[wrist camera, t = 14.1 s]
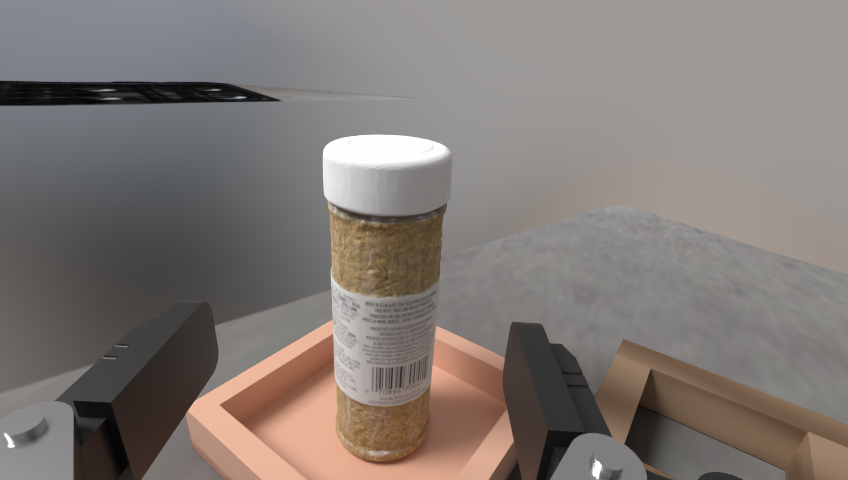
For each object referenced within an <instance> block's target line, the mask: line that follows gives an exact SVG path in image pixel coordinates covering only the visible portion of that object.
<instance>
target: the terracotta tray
mask: <svg viewBox="0 0 848 480" xmlns="http://www.w3.org/2000/svg"><path fill="white" fill-rule="evenodd" d="M504 361H505V358H504V357H502V356H500V355H498V354H496V353H494V352H491V351H489V350H487V349H485V348H483V347H481V346H479V345H476V344H474V343H472V342H470V341H468V340H466V339H464V338H462V337H459V336H457V335H455V334H453V333H451V332H449V331H447V330H444V329H442V328H440V327H438V326H436V331H435V344H434V356H433V366H432V377H431V387H430V398H429V413H430V427H429V431H428V433H427V436H426V438H425V439H424V441H423V443H422V444H421V445H420V446H419V447H418V448H417V449H416V450H415V451H413V452H412V453H410V454H408V455H406V456H404V457H402V458H399V459H395V460H393V461H386V462H375V461H370V460H367V459H362V458H360V457H358V456H357V455H354V454H352V453H351V452H349V451H348V450H347V449H346V448H344V447H343V445H342V443H341V442H340V440H339V438H338V436H337V432H336V427H335V425H336V414H337V409H338V405H337V391H336V388H337V383H336V379H335V372H334V340H333V320H331V321H329V322H328V323H326V324H324V325H323V326H321V327H319V328H318V329H316V330H314V331H312V332H311V333H309V334H307V335H306V336H304V337H302V338H301V339H299V340H297V341H296V342H294V343H292V344H290V345H289V346H287V347H285V348H284V349H282V350H280V351H279V352H277V353H275V354H274V355H272V356H270V357H269V358H267V359H265V360H263V361H262V362H260V363H258V364H257V365H255V366H253V367H252V368H250V369H248V370H247V371H245V372H243V373H241V374H240V375H238V376H236V377H235V378H233V379H231V380H230V381H228V382H226V383H225V384H223V385H221V386H220V387H218V388H216V389H214V390H213V391H211V392H209V393H208V394H206V395H204V396H203V397H201V398H199V399H198V400H196V401H194V402H193V404H192V405H191V407H190V408H189V410H188V411H187V413H186V418H187V423H188V427H189V431H190V436H191V440H192V445H193V449H194V450H195V451H196V452H197V453H198V454H199V455H200V456H201V457H202V458H203V459H204V460H205V461H206V462H207V463H208V464H209V465H210V466H211V467H212V468H213V469H214V470H215V471H216V472H217V473H218V474H219V475H220V476H221V477H222V478H223V479H224V480H507V479H508V477H509V476H510V474H511V472H512V471H513V469H514V467H515V466H516V464H517V462H518V458H517V454H516V449H515V444H514V439H513V435H512V430H511V425H510V420H509V415H508V411H507V406H506V401H505V396H504V391H503V367H504Z"/></svg>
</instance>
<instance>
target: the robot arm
mask: <svg viewBox="0 0 848 480" xmlns="http://www.w3.org/2000/svg"><path fill="white" fill-rule="evenodd" d="M217 361H218V345H217V339H216V333H215V327H214V321H213V315H212V309H211V306H210V305H209V304H208V303H206V302H193V301H175V302H174V303H172V304H171V305H170V306H169V307H168V308H167V309H166V310H165V311H164V312H163V313H162V314H161V315H160V316H159V317H158V318H157V319H155V318H153V319H150V320H149V321H147V322H145V323H143V324H141V325H139V326H138V327H136V328H134V329H132V330H131V331H130V332H129V333H128V334H126V335H125V336H124V337H123V338H122V339H121V340H120V341H119V342H118V343H117V345H116V347H112V348H111V349H110V350H109V351H108V352H107V353H106V354H105V355H104V358H103V359H100V360H98V361H97V362H96V363H95V364H94V365H93V366H92V367H91V368H90V369H89V370H88V371H87V372H85V373H84V374H83V375H82V376H81V377H80V378H79V379H78V380H77V381H76V382H75V383H74V384H73V385H71V386H70V387H69V388H68V389H67V390H66V391H65V392H64V393H63V394H62V395H61V396H60V397H59V398H57V399H56V400H55V401H49V402H42V403H37V404H33V405H29V406H26V407H24V408H21V409H19V410H16V411H14V412H12V413H10V414H8V415H6V416H4V417H3V418H1V419H0V480H141V479H142V478H143V476H144V475H145V473H146V472H147V470H148V469H149V467H150V466H151V464H152V463H153V461H154V460H155V458H156V457H157V456H158V454H159V453H160V451H161V450H162V448H163V447H164V445H165V444H166V442H167V441H168V439H169V438H170V436H171V435H172V433H173V432H174V430H175V429H176V428H177V426H178V425H179V423H180V422H181V420H182V419H183V417H184V416H185V414H186V413H187V411H188V410H189V408H190V407H191V405H192V404H193V402H194V401H195V400H196V398H197V397H198V395H199V394H200V392H201V391H202V389H203V388H204V386H205V385H206V383H207V382H208V380H209V379H210V377H211V376H212V374H213V373H214V371H215V368H216V365H217ZM582 374H583V373H582V371H581V368H580V366H579V364H578V362H577V360H576V358H575V357H574V356H573V355H572V354H571V353H570V352H569V351H568V350H567V349H566V348H565V347H564V346H563V345H562V344H551V343H549V340H548V338H547V335H546V333H545V330H544V328H543V326H542V324H538V323H522V322H513V323H512V324H511V327H510V332H509V338H508V344H507V350H506V355H505V361H504V367H503V391H504V396H505V401H506V406H507V411H508V415H509V420H510V425H511V430H512V435H513V439H514V444H515V449H516V454H517V458H518V463H519V468H520V473H521V477H522V480H672V479H669V478H666V477H663V476H660V475H658V474H655V473H652V472H650V471H648V470H646V469H645V468H644V466H643V464H642V462H641V460H640V459H639V458H638V456H637V455H636V454H635V453H634V452H633V451H632V450H631V449H630V448H629V447H627V446H626V445H625V444H623V443H622V442H620V441H618V440H616V439H614V438H613V437H612V435H611V433H610V430H609V428H608V426H607V424H606V422H605V420H604V418H603V416H602V413H601V411H600V409H599V407H598V405H597V403H596V401H595V398H594V396H593V394H592V392H591V390H590V389H589V388H588V383H587V381H586V379H585V377H584V376H583V375H582ZM698 480H742V479H740V478H738V477H735V476H733V475H729V474H726V473H720V472H711V473H706V474H704V475H702V476H701V477H700V478H699V479H698Z"/></svg>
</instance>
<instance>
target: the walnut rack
mask: <svg viewBox="0 0 848 480" xmlns="http://www.w3.org/2000/svg"><path fill="white" fill-rule="evenodd" d="M595 401H596V403H597V405H598V407H599V409H600V411H601V413H602V416H603V418H604V420H605V422H606V424H607V426H608V428H609V430H610V433H611V435H612V437H613V438H614V439H616V440H618V441H620V442H622V443H623V444H625V441H626V438H627V435H628V432H629V429H630V426H631V424H632V421H633V418H634V415H635V412H636V409H637V406H638V404H639V405H641V406H644V407H646V408H648V409H650V410H653V411H655V412H657V413H659V414H661V415H664V416H666V417H668V418H670V419H673V420H675V421H677V422H679V423H682V424H684V425H686V426H688V427H690V428H693V429H695V430H697V431H699V432H702V433H704V434H706V435H708V436H710V437H713V438H715V439H717V440H719V441H722V442H724V443H726V444H728V445H730V446H733V447H735V448H737V449H739V450H742V451H744V452H746V453H748V454H750V455H753V456H755V457H757V458H759V459H762V460H764V461H766V462H768V463H771V464H773V465H775V466H777V467H779V468H782V469H784V470H785V472H786V480H848V425H847V424H844V423H842V422H839V421H836V420H834V419H831V418H829V417H826V416H823V415H821V414H818V413H816V412H813V411H810V410H808V409H805V408H802V407H800V406H797V405H795V404H792V403H789V402H787V401H784V400H782V399H779V398H776V397H774V396H771V395H768V394H766V393H763V392H761V391H758V390H755V389H753V388H750V387H748V386H745V385H742V384H740V383H737V382H734V381H732V380H729V379H727V378H724V377H721V376H719V375H716V374H714V373H711V372H708V371H706V370H703V369H700V368H698V367H695V366H693V365H690V364H687V363H685V362H682V361H680V360H677V359H674V358H672V357H669V356H666V355H664V354H661V353H659V352H656V351H653V350H651V349H648V348H646V347H643V346H640V345H638V344H635V343H632V342H630V341H627V340H625V339H623V341H622V343H621V346H620V348H619V350H618V352H617V354H616V356H615V358H614V360H613V362H612V364H611V366H610V368H609V370H608V372H607V374H606V376H605V378H604V380H603V382H602V384H601V386H600V388H599V391H598V393H597V395H596V397H595ZM642 464H643V466H644V468H645V469H646V470H648V471H650V472H652V473H655V474H658V475H660V476H663V477H666V478H669V479H672V480H676V479H675V478H673V477H671V476H669V475H667V474H665V473H663V472H661V471H659V470H657V469H655V468H653V467H651V466H649V465H647V464H645V463H643V462H642Z"/></svg>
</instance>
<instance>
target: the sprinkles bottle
mask: <svg viewBox="0 0 848 480" xmlns="http://www.w3.org/2000/svg"><path fill="white" fill-rule="evenodd" d="M451 176H452V154H451V152H450V150H449V149H448V148H447V147H445V146H444V145H442V144H439V143H437V142H434V141H430V140H426V139H421V138H415V137H408V136H397V135H362V136H352V137H345V138H341V139H337V140H335V141H332V142H330V143H329V144H328V145H327V146H326V147H325V149H324V152H323V179H324V195H325V197H326V198H327V200H328V208H329V211H330V228H331V248H332V269H331V287H332V311H333V340H334V372H335V379H336V383H337V388H336V391H337V405H338V409H337V414H336V425H335V427H336V432H337V436H338V438H339V440H340V442H341V443H342V445H343V447H344V448H346V449H347V450H348V451H349V452H351V453H352V454H354V455H357V456H358V457H360V458H362V459H367V460H370V461H375V462H386V461H393V460H395V459H399V458H402V457H404V456H406V455H408V454H410V453H412V452H413V451H415V450H416V449H417V448H418V447H419V446H420V445H421V444H422V443H423V441H424V439H425V438H426V436H427V433H428V431H429V427H430V413H429V398H430V387H431V377H432V366H433V356H434V344H435V331H436V321H437V307H438V296H439V276H440V258H441V246H442V241H441V238H442V221H443V215H444V213H445V211H446V208H447V202H448V200H449V198H450V190H451Z"/></svg>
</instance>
